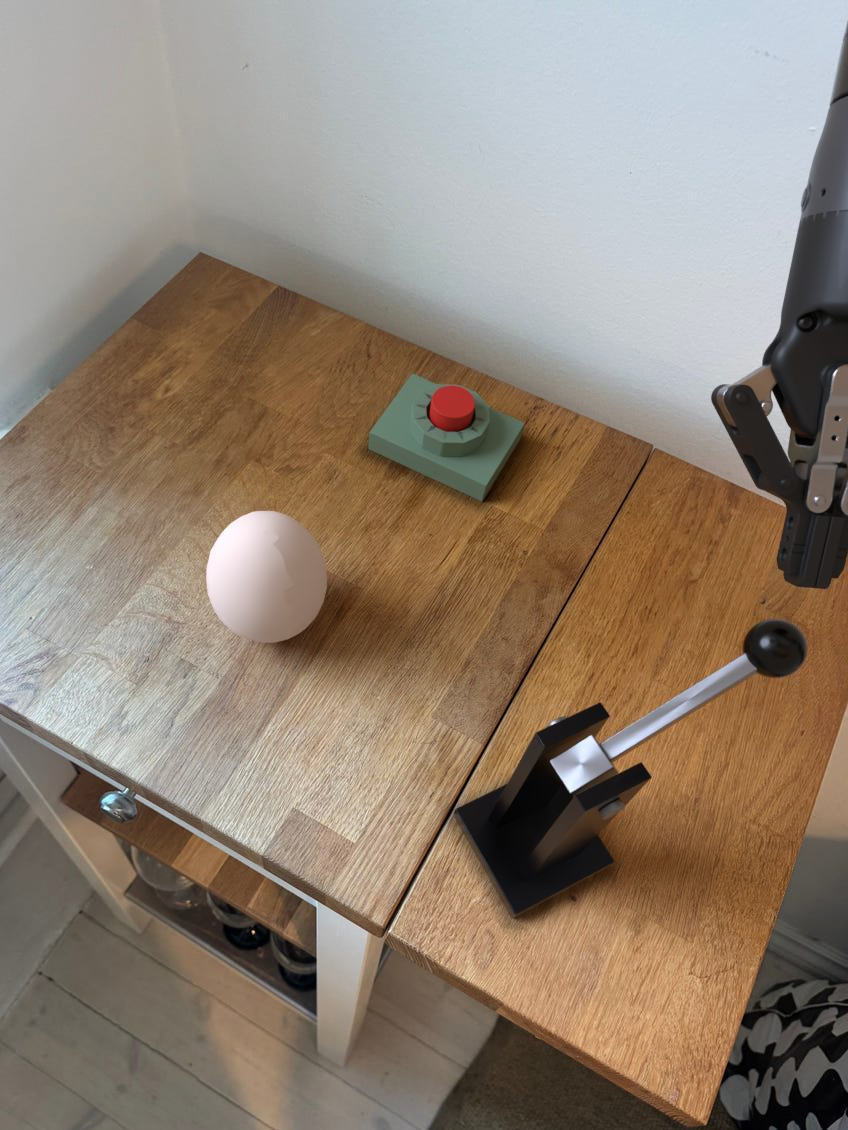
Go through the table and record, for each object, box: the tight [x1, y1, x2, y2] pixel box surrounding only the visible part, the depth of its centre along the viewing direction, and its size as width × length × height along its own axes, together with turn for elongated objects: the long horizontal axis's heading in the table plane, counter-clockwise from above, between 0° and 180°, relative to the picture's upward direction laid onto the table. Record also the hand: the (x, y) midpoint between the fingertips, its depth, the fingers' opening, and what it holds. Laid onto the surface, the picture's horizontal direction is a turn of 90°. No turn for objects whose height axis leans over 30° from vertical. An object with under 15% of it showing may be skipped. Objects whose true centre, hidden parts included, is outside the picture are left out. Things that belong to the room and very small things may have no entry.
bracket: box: [452, 701, 652, 919], centre depth 57 cm, size 8×8×16 cm
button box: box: [367, 373, 526, 503], centre depth 79 cm, size 8×11×4 cm
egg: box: [205, 510, 328, 644], centre depth 66 cm, size 9×9×12 cm
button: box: [429, 384, 475, 432], centre depth 77 cm, size 4×4×2 cm
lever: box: [550, 618, 808, 796], centre depth 51 cm, size 15×3×3 cm, turn 117°
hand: (805, 584), depth 47 cm, fingers closed
